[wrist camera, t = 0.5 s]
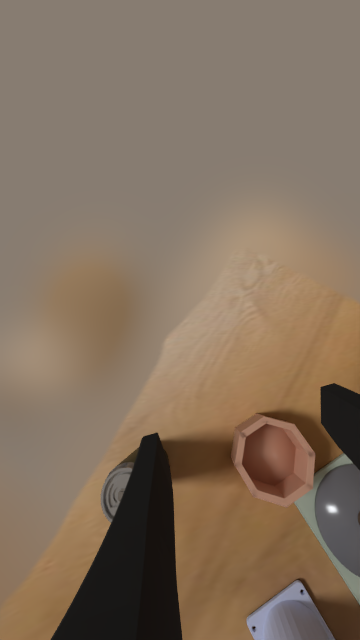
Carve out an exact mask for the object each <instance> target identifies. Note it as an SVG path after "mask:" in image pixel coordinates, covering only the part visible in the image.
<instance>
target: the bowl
mask: <svg viewBox="0 0 360 640" xmlns="http://www.w3.org/2000/svg"><path fill="white" fill-rule="evenodd" d="M230 456H231V459H232V461H233V463H234V466H236V468H237V470H238V471H239V473H240V475H241V477H242V478H243V480H244V482H245V483H246V485H247V487H248V488H249V490H250V492H251V494H252V496H253V497H256V498H259V499H262V500H265V501H268V502H271V503H274V504H278V505H281V506H284V507H288V506H289V505H291V504H292V503H293V502H295V501H296V500H298V499H299V498H300V497H302V496H303V495H305V494H306V493H307V492H309V491H310V490H312V489H313V478H314V464H315V452H314V451H313V450H312V448H311V447H310V446H309V444H308V443H307V441H306V440H305V438H304V437H303V436H302V434H301V433H300V431H299V430H298V429H297V427H296V426H295V424H293V423H290V422H287V421H284V420H279V419H275V418H271V417H268V416H264V415H260V414H258V413H257V414H255V415H254V416H252V417H251V418H249V419H248V420H246V421H245V422H243V423H242V424H240V425H239V426H237V427H235V432H234V438H233V444H232V450H231V455H230Z"/></svg>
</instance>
